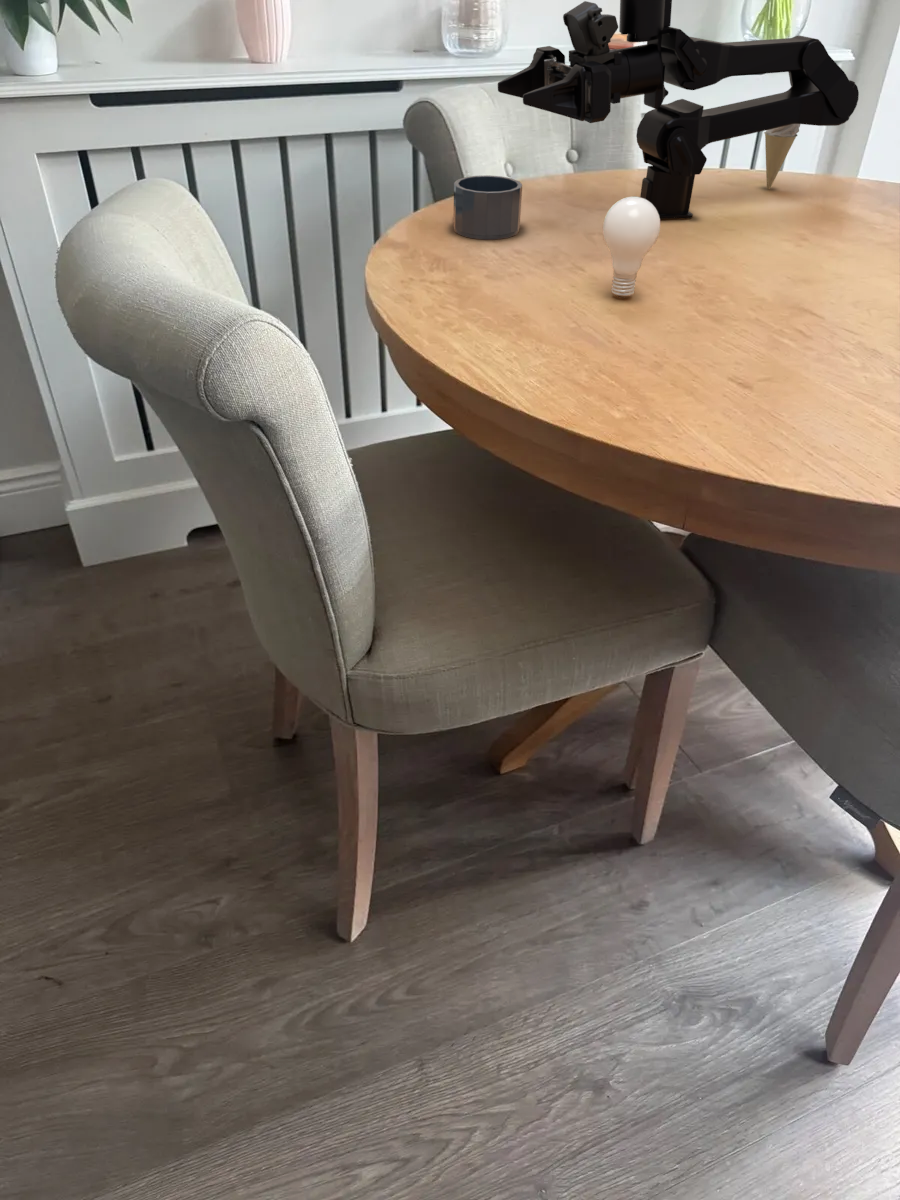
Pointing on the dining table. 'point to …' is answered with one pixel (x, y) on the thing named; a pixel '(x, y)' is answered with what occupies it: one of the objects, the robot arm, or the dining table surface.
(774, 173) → the ice cream cone
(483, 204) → the tube
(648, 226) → the lightbulb
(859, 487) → the dining table surface
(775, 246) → the dining table surface
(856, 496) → the dining table surface
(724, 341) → the dining table surface
